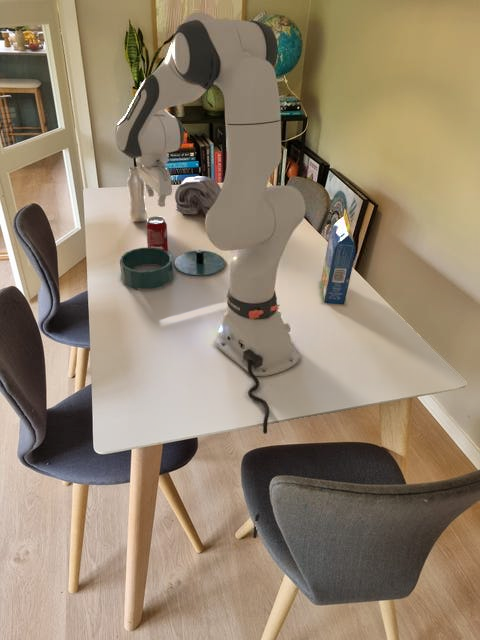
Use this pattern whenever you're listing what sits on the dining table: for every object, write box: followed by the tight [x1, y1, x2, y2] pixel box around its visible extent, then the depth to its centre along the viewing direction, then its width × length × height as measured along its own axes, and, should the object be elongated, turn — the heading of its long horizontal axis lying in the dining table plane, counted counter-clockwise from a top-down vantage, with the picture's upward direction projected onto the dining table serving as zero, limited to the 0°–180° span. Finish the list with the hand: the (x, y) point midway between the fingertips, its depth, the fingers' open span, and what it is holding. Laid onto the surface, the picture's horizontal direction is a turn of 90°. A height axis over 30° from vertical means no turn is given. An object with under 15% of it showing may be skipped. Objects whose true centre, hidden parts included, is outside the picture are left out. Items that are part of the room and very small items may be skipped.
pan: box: [119, 247, 174, 291], centre depth 138 cm, size 16×16×6 cm
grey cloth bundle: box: [174, 175, 222, 216], centre depth 179 cm, size 20×18×15 cm
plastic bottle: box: [126, 166, 148, 222], centre depth 168 cm, size 6×7×20 cm
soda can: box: [145, 215, 169, 252], centre depth 150 cm, size 7×7×12 cm
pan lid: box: [173, 249, 226, 277], centre depth 146 cm, size 17×17×5 cm
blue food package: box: [320, 209, 357, 306], centre depth 130 cm, size 6×12×25 cm, turn 176°
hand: (155, 200), depth 142 cm, fingers open, 8 cm apart
